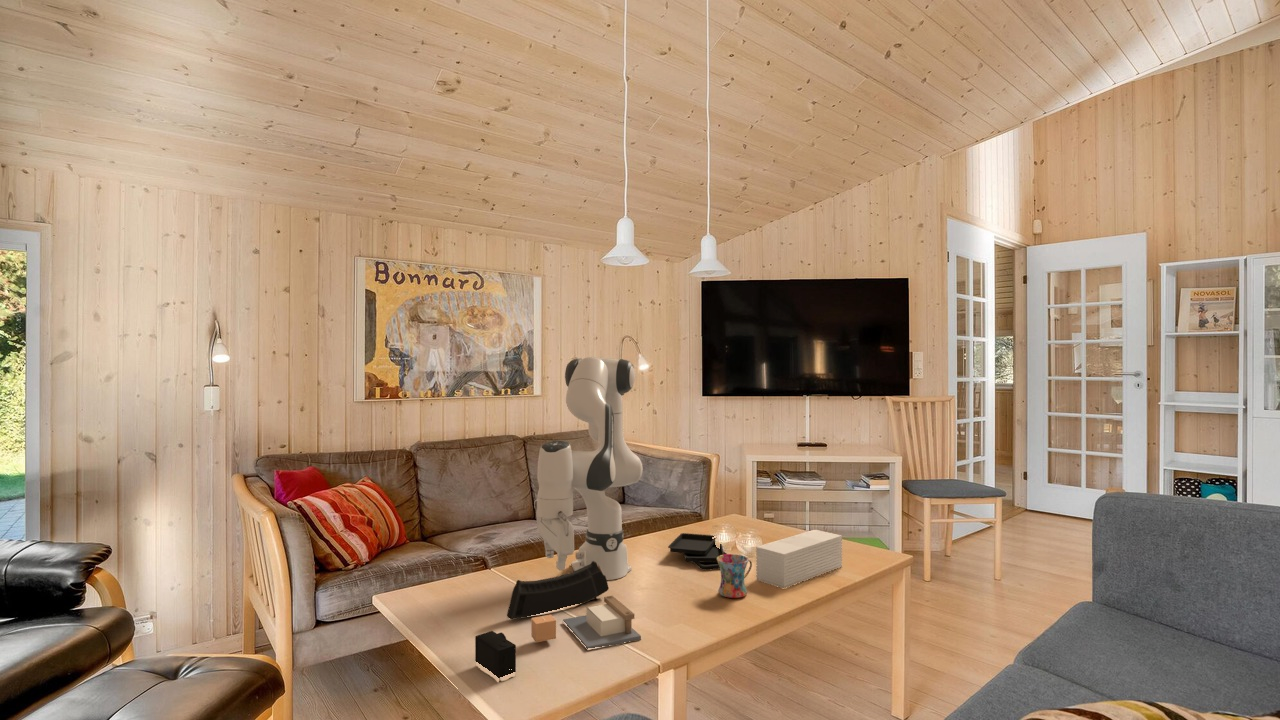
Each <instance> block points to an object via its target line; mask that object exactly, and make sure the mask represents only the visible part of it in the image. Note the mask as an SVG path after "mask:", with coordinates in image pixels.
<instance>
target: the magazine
mask: <svg viewBox="0 0 1280 720" xmlns="http://www.w3.org/2000/svg"><path fill="white" fill-rule="evenodd" d="M608 591H609V584H608V580H606V576H605V575H604V574H603V572H602V569H601V567H600V565H599V564H598V566H597V563H596V562H595V561H592V563H591V564H589V565H587V566H585V567H583V568H581V569H578V570H576V571H574V570H573V571H570V572H569V573H565V574H562V575H558V576H554V577H548V578H544V579H537V580H529V581H527V580H520V579H517V580H516V582H515V585H514V587H513V589H512V593H511V598H510V602H509V605H508V608H507V609H508V610H507V613H506V617H507V618H508V619H509V618H510V619H509V620H516V619H522V618H521V617H526V618H528V617H527V616H531V615H536V614H540V613H544V612H548V611H552V610H557V609H560V608H563V607H567V606H571V605H575V604H580V603H583V604H584V602H585V603H587V602H589V600H590V601H592V600H595V599H597V600H598V597H600V596H601V595H603V594H605V593H606V592H608Z"/></svg>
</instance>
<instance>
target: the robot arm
mask: <svg viewBox="0 0 1280 720" xmlns="http://www.w3.org/2000/svg"><path fill="white" fill-rule="evenodd" d="M564 379H565V385H566V386H567V390H566V396H565V405H566V408H567V409H568V411H569V412H570V413H571V414H572V415H573V416H574V417H575V418H577V419H578V420H580V421H582V422H585V423H588V435H589V437H590V439H592V440H593V441H594V442H596V443H597V448H596V449H594V450H590V451H588V450H587V451H586V450H572V446H571V444H570V443H569V442H568V441H564V440H551V441H547V442H545V443H543V444H542V445H541V446H540V448H539V451H538V460H537V472H536V473H537V483H538V491H537V496H536V497H537V498H536V499H535V500H534V503H533V504H534V506H533V507H534V509H535V510H536V512H535V514H536V515H535V516H536V530H537V532H538V533H537V534H538V536H540V537H541V538H542V539H543V545H544V549H545V557H546V558H547V559H552V558H554V556H555V553H556V556H557V560H556V562H555V564H556V569H557V570H559V571H563V570H566V562H567V558H568V556H572V555H573V554H574V553H575V560H574V561H573V560H572V561H571V566H572V569H573V571H576V570H578V569H581V568H583V567H585V566H587V565H589V564H591V563H592V561H595V562H596V563H597V566H598V564H599V565H600V567H601V569H602V572H603V574H604V575H605V576H606V580H607V581H610V580H617V579H621V578H624V577H625V576H627V574H628V573H629V572H631V571H632V570H633V569H632V566H631V565H629V560H628V547H627V544H625V543H624V530H623V527H622V526H623V524H622V523H623V522H622V520H623V518H622V515H623V514H622V513H623V511H622V506H621V504H620V503H619V502H618V501H617V500H616V499H614V498H611V497H610V496H608V495H606V493H605V491H606V490H607V489H608V488H617V487H627V486H630V485H632V484H636V483H638V482H639V481H640V479H641V478H642V476H643V471H644V469H643V462H642V460H641V459H640V457H639V456H638V455H637V454H635V453H634V452H633V451H632V450H631V449H630V447H629V446H628V444H627V443H626V439H625V437H624V427H623V424H624V423H623V421H624V420H623V415H624V414H623V410H624V409H623V408H624V406H623V396H624V395H625V394H627V393H629V392H630V391H631V390H632V389H633V388H634V384H635V381H636V371H635V366H634V365H633V363H632V362H631V361H630V360H627V359H622V358H620V359H615V358H608V357H595V356H587V357H584V358H580V357H579V358H575V359H572V360H570V361H569V362H568V363H567V364H566V367H565V371H564ZM573 489H575V490H576V491H577V492H578V493H579V495H581V497H582V499H583V501H584V504H585V506H586V515H587V529H586V533H585V538H584V539H585V541H584V542H583V543H582V545H581V546H579V548H578V551H576V552H575V535H574V532H575V531H574V526H573V523H572V522H571V521H570V520H569V517H571V516H573V514H574V492H573Z"/></svg>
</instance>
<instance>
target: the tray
mask: <svg viewBox="0 0 1280 720" xmlns="http://www.w3.org/2000/svg"><path fill="white" fill-rule="evenodd" d="M714 536H715V535H714ZM714 536H713V535H712V534H711V535H710V534H699V533H689V532H682V533H680V534H679V535H678V536H677V537H676V538H675V539H674V540H673V541H672V542H671V543H669V545H668V546H667V548H668V549H669V552H670V553H675V554H676V553H677V554H683V558H685V561H686V562H688V563H693V564H694V565H696V566H697V567H698V568H699V569H701V570H703V571H710V569H712V570H719V569H718V568H720V567H719V564H718V561H717V557H718V556H720V555H724V554H728V553H727V552H725V551H724V548H723V544H720V549H719V548H717V547H716V545H715V541H716V539H717V537H716V538H714V539H712V537H714ZM701 563H715V564H706V565H705V564H701Z"/></svg>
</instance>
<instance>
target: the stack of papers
mask: <svg viewBox="0 0 1280 720" xmlns="http://www.w3.org/2000/svg"><path fill="white" fill-rule="evenodd" d="M842 541H843V535H841V534H836V533H831V532H827V531H823V530H819V529H812V530H808V531H804V532H801V533H798V534H795V535H792V536H787V537H785V538H781V539H777V540H774V541H772V542H771V541H770V542H767V543H764V544H760V545H757V546H755V552H756V553H755V555H756V556H755V562H756V563H755V565H756V567H755V568H756V569H755V571H756V572H755V573H756V574H755V575H756V578H755V580H756V581H757V582H760V581H761V583H763V582H764V584H767V585H770V584H771V585H770V586H773V585H774V586H773V587H776V586H778V587H777V588H779V587H781V588H780V589H782V588H786V587H789V586H791V587H793V586H792V585H794V584H796V583H799V582H802V581H804V582H806V581H805V580H807V579H810V578H812V579H814V578H813V577H815V576H817V577H819V576H818V575H820V574H823V573H825V574H827V573H826V572H828V573H830V572H832V571H831V570H833V571H835V570H834V569H836V570H838V569H841V568H842V567H843V542H842ZM840 567H841V568H840ZM837 568H838V569H837ZM829 571H830V572H829ZM823 575H824V574H823ZM820 576H821V575H820ZM815 578H816V577H815ZM810 580H811V579H810ZM807 581H808V580H807ZM802 583H803V582H802ZM799 584H800V583H799ZM794 586H795V585H794ZM789 588H790V587H789ZM786 589H787V588H786Z"/></svg>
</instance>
